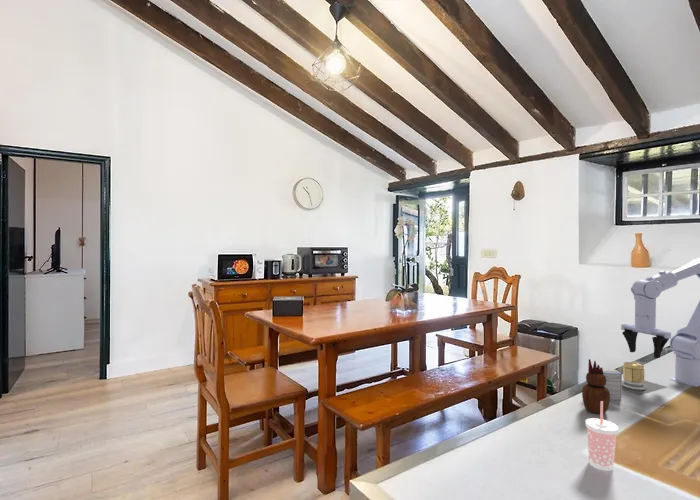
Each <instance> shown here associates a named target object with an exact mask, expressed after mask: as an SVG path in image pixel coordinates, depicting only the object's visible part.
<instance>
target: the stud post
mask: <svg viewBox="0 0 700 500" xmlns="http://www.w3.org/2000/svg"><path fill="white" fill-rule="evenodd" d="M622 387H624V388H627V389H631V390H637V391H644V390H646V389H647V387H646V385H644V382H641V383H640V382H631V381H628V380H625V379H624V378H623V380H622Z"/></svg>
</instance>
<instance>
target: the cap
mask: <svg viewBox="0 0 700 500" xmlns="http://www.w3.org/2000/svg"><path fill="white" fill-rule="evenodd" d="M622 369H623V370H622V379H623V380H624V379H625V380H628V381H631V382H640V383H641V382H644V380H645V365H643V364H641V363H637V362H634V361H632V362H631V361H625V362H623V366H622Z"/></svg>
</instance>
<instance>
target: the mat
mask: <svg viewBox="0 0 700 500" xmlns="http://www.w3.org/2000/svg"><path fill="white" fill-rule="evenodd" d="M644 385H646V387H647V389H646V390H644V391H637V390H631V389H627V388H624V387H622V388H621V391H625V392H628V393H631V394H634V395H637V396H641V395H645V394H648V393H649V394H650V393H651V392H655V391H659V390H663V389H666V388H667V386H665V385H662V384H658V383H655V382H652V381H648V380H645V379H644Z"/></svg>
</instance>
